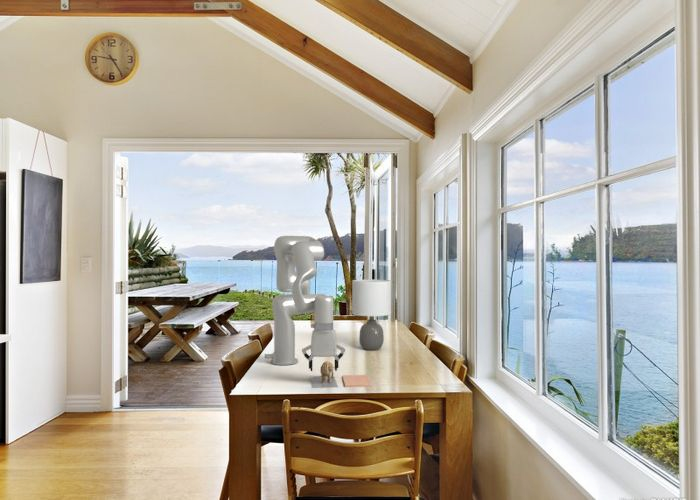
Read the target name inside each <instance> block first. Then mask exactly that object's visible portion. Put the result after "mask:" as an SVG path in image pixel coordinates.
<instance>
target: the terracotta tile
mask: <svg viewBox="0 0 700 500" xmlns="http://www.w3.org/2000/svg"><path fill="white" fill-rule="evenodd" d="M342 381H343V384H344V388H366V387H367V388H370V387H371V388H372V384H371V382H370V381H371V380H370V379H369V377H368V375H367V374H353V375H351V374H350V375H349V374H347V375H345V374H343V375H342Z"/></svg>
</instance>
